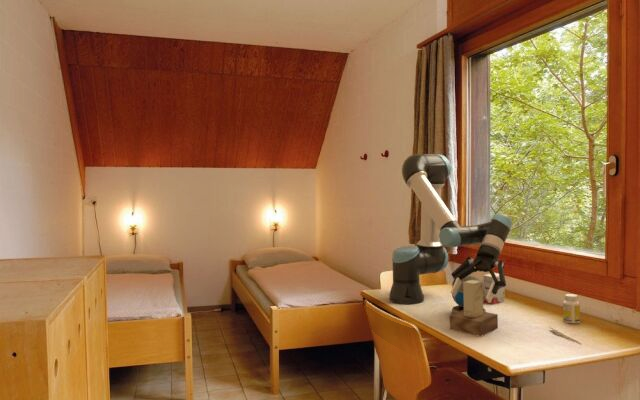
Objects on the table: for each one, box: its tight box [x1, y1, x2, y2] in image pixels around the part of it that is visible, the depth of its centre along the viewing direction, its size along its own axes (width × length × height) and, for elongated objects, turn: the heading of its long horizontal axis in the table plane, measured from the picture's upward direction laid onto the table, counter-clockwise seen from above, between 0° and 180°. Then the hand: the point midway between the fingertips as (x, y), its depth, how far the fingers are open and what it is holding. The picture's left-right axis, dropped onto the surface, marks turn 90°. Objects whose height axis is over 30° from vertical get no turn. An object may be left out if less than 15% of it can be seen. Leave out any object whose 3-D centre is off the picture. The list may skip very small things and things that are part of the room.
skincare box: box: [463, 280, 484, 318], centre depth 170 cm, size 6×4×12 cm
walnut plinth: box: [449, 310, 499, 337], centre depth 170 cm, size 12×12×5 cm
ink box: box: [483, 272, 506, 305], centre depth 206 cm, size 8×5×12 cm, turn 123°
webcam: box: [451, 275, 487, 315], centre depth 189 cm, size 13×13×15 cm
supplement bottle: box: [562, 293, 581, 324], centre depth 175 cm, size 5×5×10 cm
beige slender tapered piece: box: [549, 325, 583, 345], centre depth 159 cm, size 15×3×2 cm, turn 12°
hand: (469, 297), depth 168 cm, fingers open, 13 cm apart
